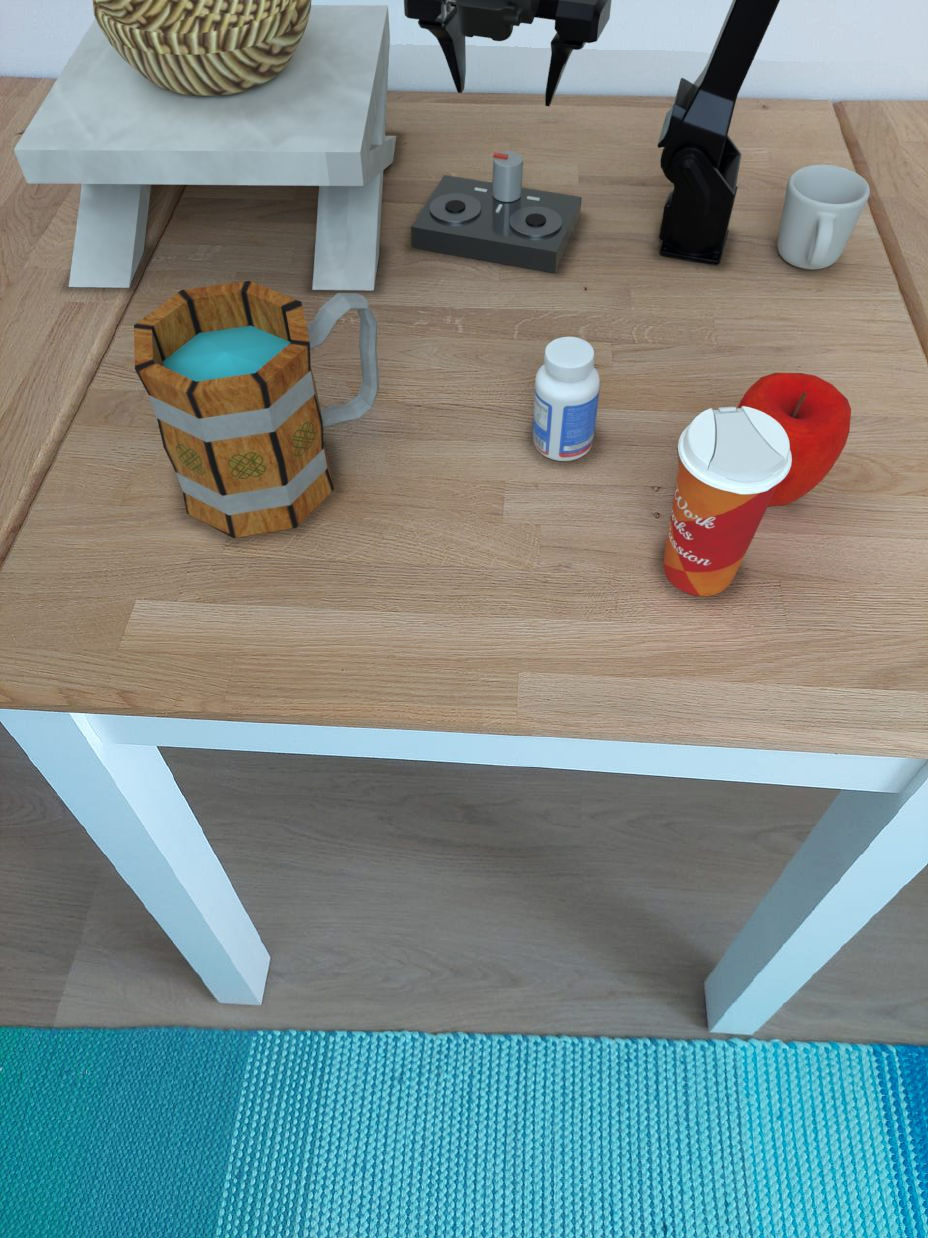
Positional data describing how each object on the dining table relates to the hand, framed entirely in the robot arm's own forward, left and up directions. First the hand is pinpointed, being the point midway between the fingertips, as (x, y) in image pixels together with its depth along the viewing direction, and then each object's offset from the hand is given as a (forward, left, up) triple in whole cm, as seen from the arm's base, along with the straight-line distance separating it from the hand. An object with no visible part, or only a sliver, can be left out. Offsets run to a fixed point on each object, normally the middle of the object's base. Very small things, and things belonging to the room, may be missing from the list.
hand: (504, 97), depth 94 cm
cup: (-33, -1, -13) cm, 36 cm away
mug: (+7, +43, -13) cm, 45 cm away
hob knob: (0, -1, -10) cm, 10 cm away
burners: (0, +3, -10) cm, 11 cm away
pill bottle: (-15, +33, -13) cm, 39 cm away
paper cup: (-29, +44, -13) cm, 54 cm away
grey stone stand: (+29, +6, -13) cm, 32 cm away
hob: (0, +3, -13) cm, 13 cm away
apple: (-33, +34, -13) cm, 49 cm away
